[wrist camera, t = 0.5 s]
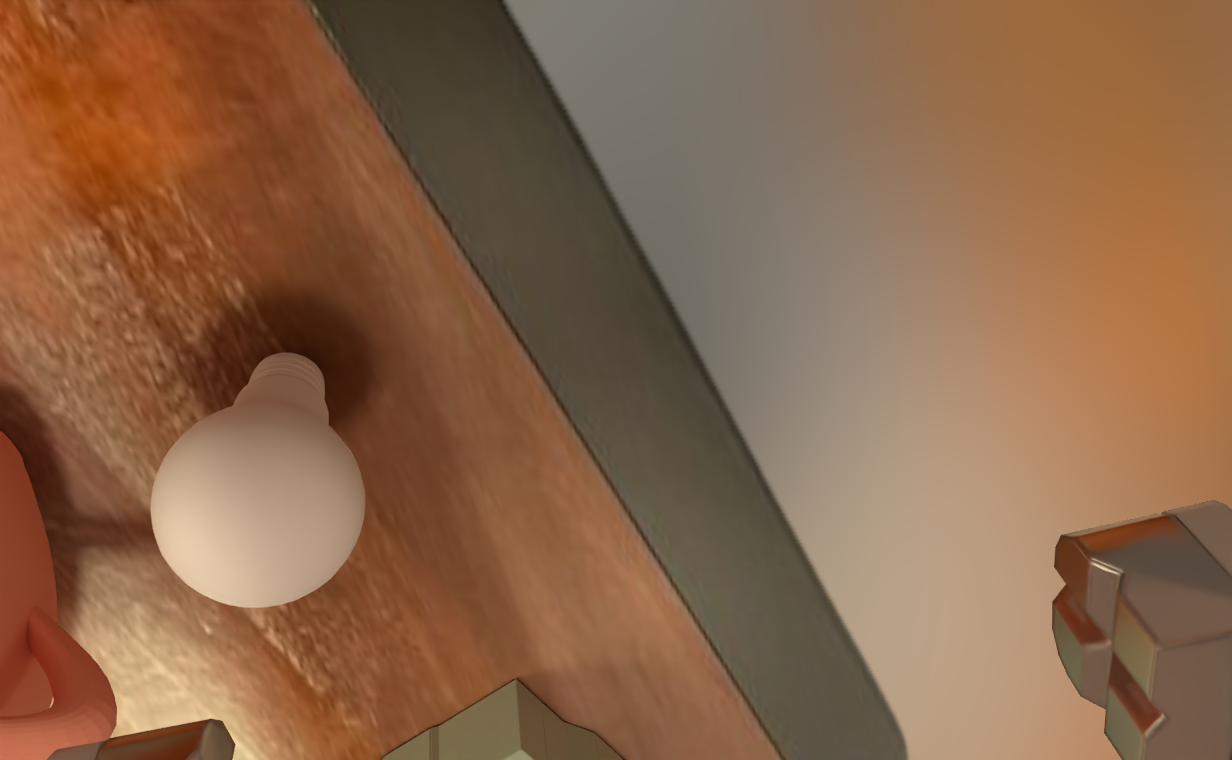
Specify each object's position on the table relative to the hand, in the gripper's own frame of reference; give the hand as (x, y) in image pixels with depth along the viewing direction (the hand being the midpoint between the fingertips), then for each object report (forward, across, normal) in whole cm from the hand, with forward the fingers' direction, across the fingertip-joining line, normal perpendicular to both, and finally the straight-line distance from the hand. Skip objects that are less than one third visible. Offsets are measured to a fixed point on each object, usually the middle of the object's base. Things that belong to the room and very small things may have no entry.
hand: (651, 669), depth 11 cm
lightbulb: (+29, +10, +11) cm, 32 cm away
